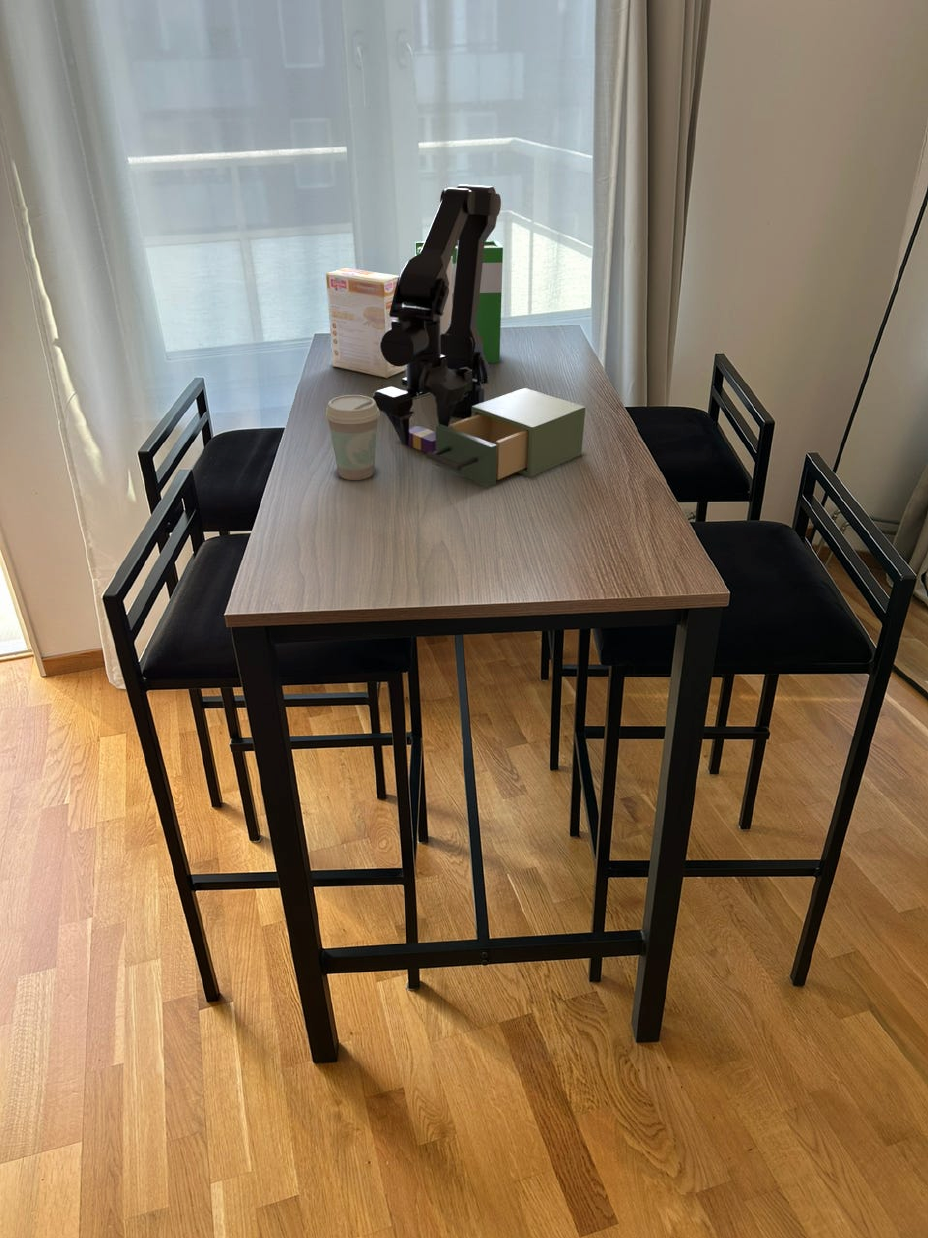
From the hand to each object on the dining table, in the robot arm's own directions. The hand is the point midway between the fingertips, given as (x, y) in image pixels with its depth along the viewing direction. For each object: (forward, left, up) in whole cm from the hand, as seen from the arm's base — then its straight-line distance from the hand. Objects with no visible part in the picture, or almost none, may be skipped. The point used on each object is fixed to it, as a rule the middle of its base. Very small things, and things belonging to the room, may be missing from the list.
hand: (424, 438), depth 156 cm
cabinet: (+17, +4, -1) cm, 18 cm away
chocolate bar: (0, 0, -1) cm, 1 cm away
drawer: (+13, -7, -1) cm, 15 cm away
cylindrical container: (-13, +31, -2) cm, 33 cm away
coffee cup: (-5, -15, -2) cm, 16 cm away
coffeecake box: (-31, +34, -2) cm, 46 cm away
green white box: (-16, +49, -2) cm, 51 cm away
